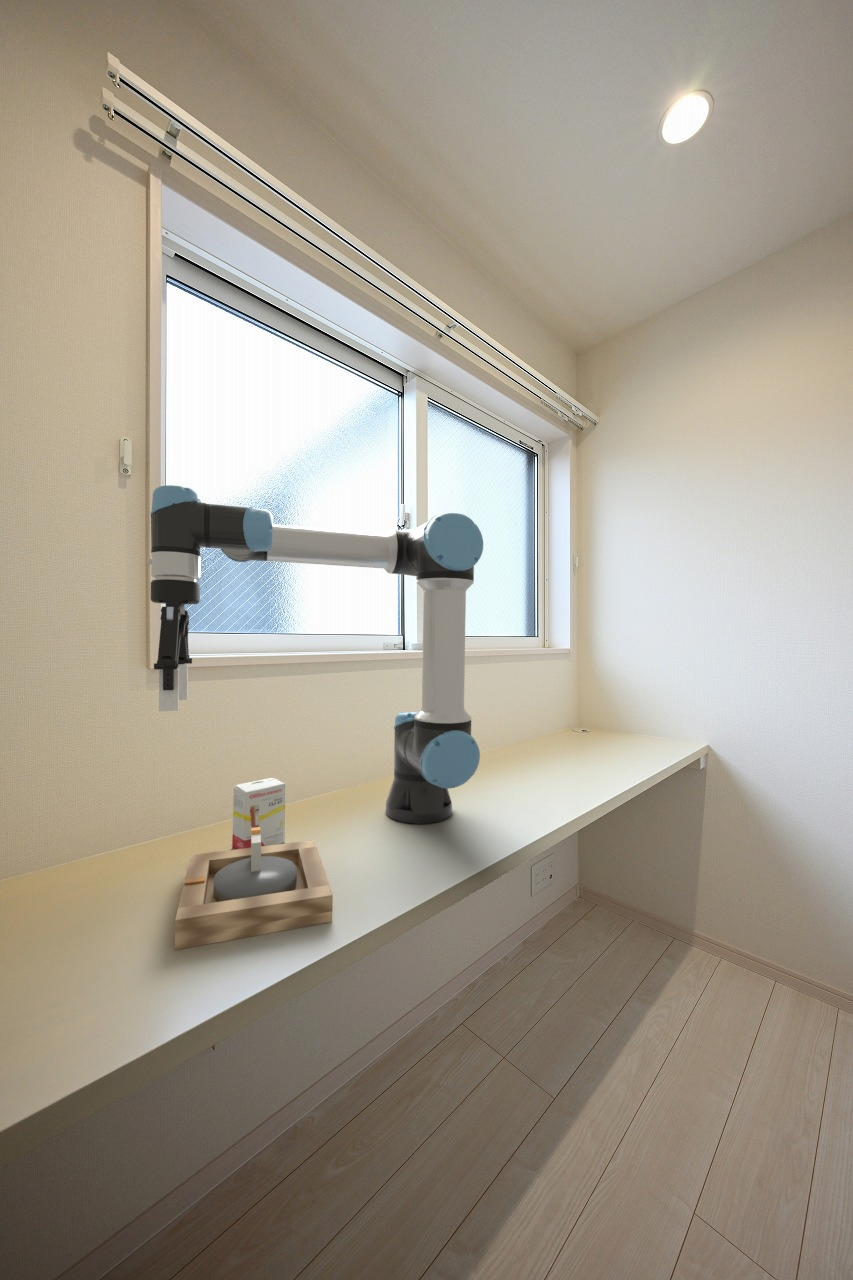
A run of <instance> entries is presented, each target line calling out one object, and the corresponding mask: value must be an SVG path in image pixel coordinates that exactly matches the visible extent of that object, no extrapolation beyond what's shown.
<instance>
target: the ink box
mask: <svg viewBox="0 0 853 1280" xmlns="http://www.w3.org/2000/svg"><path fill="white" fill-rule="evenodd" d="M232 802H233V804H232V805H233V806H232V811H233V812H232V838H231V839H232V840H231V841H232V842H231V843H232V844H231V849H232V850H236V849H245V848H251V828H256V827H260V834H261V846H269V845H277V844H285V838H286V836H285V835H286V827H285V826H286V783H285V782H283V781H280V780H279V779H277V778H275V777H270V778H268V777H267V778H263V779H259V780H254V781H249V782H243V783H238V784H236V785H235V786H233V801H232Z"/></svg>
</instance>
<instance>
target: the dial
mask: <svg viewBox="0 0 853 1280" xmlns="http://www.w3.org/2000/svg"><path fill="white" fill-rule="evenodd" d="M296 883H297V868H296V865H295V864H294V863H293V862H291V861H290V860H287V859H285V858H281V857H273V856H261V834H260V827H256V828H251V858H247V859H243V860H239V861H236V862H234V863H231V864H229V865H227V866H225V867H223V868H222V869H221V870H219V871H218V872H217V873H216V875H215V876H214V889H213V894H214V898H215V899H216V900H217V901H218V902H221V901H228V900H234V899H241V898H247V897H254V896H260V895H267V894H273V893H280V892H286V891H293V890H294V888H295V887H296Z"/></svg>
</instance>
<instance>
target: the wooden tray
mask: <svg viewBox="0 0 853 1280" xmlns="http://www.w3.org/2000/svg"><path fill="white" fill-rule="evenodd" d="M261 856H273V857H281V858H285V859H287V860H290V861H291V862H293V863H294V864H295V865H296V868H297V883H296V887H295V888H294V890H293V891H286V892H280V893H273V894H267V895H260V896H254V897H247V898H241V899H234V900H228V901H221V902H218V901H217V900H216V899H215V898H214V894H213V889H214V876H215V875H216V873H217V872H218V871H219V870H221V869H222V868H223V867H225V866H227V865H229V864H231V863H234V862H236V861H239V860H243V859H247V858H251V848H245V849H236V850H235V849H231V850H230V849H228V850H221V851H214V852H212V851H211V852H204V853H196V854H190V857H189V861H188V864H187V868H186V873H185V877H184V881H183V882H184V883H183V886H182V889H181V890H182V891H181V894H180V898H179V902H178V903H179V904H178V907H177V911H176V915H175V920H174V951H176V950H183V949H186V948H188V949H189V948H193V947H199V946H204V945H209V944H214V943H215V944H216V943H220V942H221V943H222V942H227V941H232V940H237V939H244V938H248V937H254V936H259V935H260V936H261V935H265V934H271V933H272V934H273V933H276V932H282V931H288V930H289V931H290V930H293V929H295V930H296V929H298V928H306V927H310V926H317V925H321V924H328V923H332V922H333V913H334V912H333V910H334V909H333V906H334V905H333V901H334V898H333V897H334V896H333V892H332V888H331V885H330V882H329V880H328V879H329V878H328V877H327V874H326V872H325V871H326V870H325V868H324V865H323V862H322V860H321V859H322V858H321V856H320V853H319V851H318V848H317V844H316V842H315V839H312V840H305V841H302V840H301V841H295V842H287V843H281V844H277V845H269V846H261Z"/></svg>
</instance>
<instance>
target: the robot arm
mask: <svg viewBox="0 0 853 1280" xmlns="http://www.w3.org/2000/svg"><path fill="white" fill-rule="evenodd" d="M151 500H152V501H151V512H150V539H151V541H150V553H151V556H150V557H151V558H149V559H147V560H146V563H147V565H149V566H150V571H151V572H150V576H152V578H154V579H153V580H151V581H150V597H149V598H150V601H151V602H152V603H154V604H165V606H161V608H160V612H161V615H160V630H159V641H158V642H159V643H158V651H157V653H158V654H157V660H156V663H153V670H159V671H158V676H159V678H158V680H159V681H158V683H159V685H158V712H177V711H179V708H180V706H179V704H180V701H187V700H188V699H189V698H188V697H189V693H188V692H189V691H188V689H189V685H188V684H189V683H188V682H189V664H190V665H192V664H193V657H192V658H191V657H190V653H189V630H190V629H189V623H190V615H189V612H188V610H187V609H186V608H185V605H197V604H199V603H200V601H201V599H200V598H201V596H200V595H201V591H200V590H201V585H200V584H199V582H197V581H198V580H200V579H201V560H202V559H201V548H207V549H220V550H221V552H222V553H223V554H224V555H225V556H226V557H227V558H228V559H230V560H232V561H234V562H237V563H246V562H249V561H257V562H258V561H259V562H279V563H293V564H307V565H309V564H311V565H327V566H339V567H340V566H342V567H356V568H357V567H358V568H370V569H371V568H372V569H383V570H385V571H386V573H387V574H393V575H394V574H395V575H405V576H412V577H416V584H417V585H418V586H419V587H420V588H421V589H422V591H423V610H422V611H423V612H422V613H423V614H422V615H423V616H422V617H423V618H422V619H423V622H422V626H423V627H422V674H421V675H422V678H421V681H422V685H421V709H420V710H419V711H409V712H407V711H406V712H400V713H398V714H396V716H395V719H394V726H393V730H394V747H393V748H394V749H393V750H394V753H393V754H394V758H393V759H394V760H393V771H394V772H393V781H392V784H391V785H390V786H391V787H390V790H389V792H388V795H387V798H386V800H385V801H386V803H385V813H386V815H387V817H389V818H391V819H392V820H395V821H397V822H400V823H409V824H419V825H420V824H432V823H439V822H442V821H444V820H446V819H448V818H450V817H451V816H452V814H453V804H452V803H453V802H452V799H451V795H450V792H449V789H455V788H458V787H461V786H462V785H464V784H466V783H468V781H469V780H470V778H472V777H473V776H474V775H475V773H476V771H477V770H478V768H479V765H480V757H481V753H480V747H479V744H478V742H477V741H476V740H475V738H474V737H473V736H472V716H471V715H470V714H469V713H468V712H467V711H466V709H465V672H466V671H465V670H466V669H465V668H466V667H465V666H466V665H465V663H466V658H465V657H466V614H467V613H466V608H467V607H466V605H467V604H466V603H467V600H466V599H467V596H466V595H467V590H469V588H470V587H471V586H472V585H473V584H474V579H475V577H474V576H475V565H476V564H477V563H479V561H480V558H481V557H482V555H483V551H484V538H483V535H482V532H481V530H480V528H479V526H478V525H477V524H476V523H475V522H474V521H473V519H471V517H469V516H467V515H465V514H464V513H460V512H458V511H457V512H456V511H449V512H448V511H447V512H443V513H440V514H437V515H435V516H432V517H431V518H430V519H428V521H427V522H425V523H423V524H422V525H419V526H418V527H414V528H411V529H404V530H403V529H400V530H399V529H390V530H388V531H387V532H386V533H380V532H369V531H357V530H345V529H344V530H343V529H331V528H321V527H320V528H319V527H310V526H309V527H308V526H299V525H297V526H296V525H286V524H274V520H273V519H274V518H273V514H272V512H271V511H270V510H268V509H264V508H257V507H254V506H248V507H246V506H236V505H223V504H214V503H213V504H212V503H206V502H203V500H202V498H201V494H200V492H198V491H197V490H195V489H193V488H191V487H183V486H181V485H173V484H172V485H171V484H169V485H161V486H158V487H156V488H155V489H153V492H152V499H151Z"/></svg>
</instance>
